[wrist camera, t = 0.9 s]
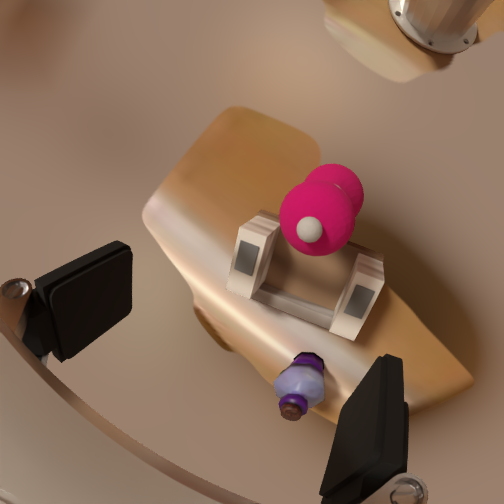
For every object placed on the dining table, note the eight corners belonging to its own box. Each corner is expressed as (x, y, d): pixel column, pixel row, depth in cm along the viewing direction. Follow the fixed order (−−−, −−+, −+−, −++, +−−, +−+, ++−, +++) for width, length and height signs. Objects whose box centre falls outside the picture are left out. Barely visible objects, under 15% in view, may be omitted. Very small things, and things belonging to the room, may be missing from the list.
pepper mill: (373, 202, 35) (379, 259, 18) (325, 225, 39) (287, 297, 21) (346, 152, 34) (327, 157, 17) (299, 178, 38) (236, 210, 20)
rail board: (261, 209, 41) (239, 223, 34) (383, 254, 37) (386, 279, 30) (243, 281, 46) (221, 304, 40) (351, 323, 42) (345, 355, 35)
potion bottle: (276, 352, 49) (250, 400, 39) (319, 338, 45) (302, 390, 35) (299, 385, 50) (279, 434, 40) (341, 374, 46) (328, 427, 35)
